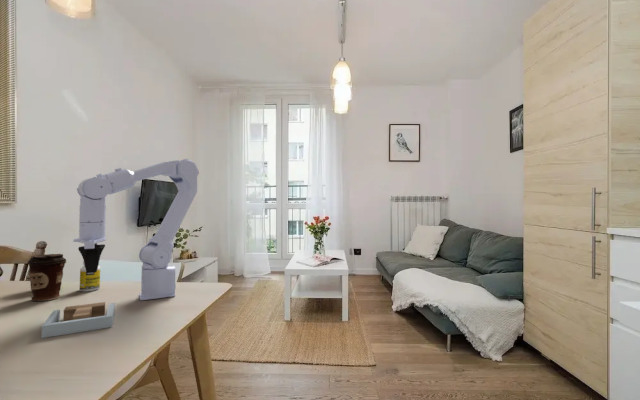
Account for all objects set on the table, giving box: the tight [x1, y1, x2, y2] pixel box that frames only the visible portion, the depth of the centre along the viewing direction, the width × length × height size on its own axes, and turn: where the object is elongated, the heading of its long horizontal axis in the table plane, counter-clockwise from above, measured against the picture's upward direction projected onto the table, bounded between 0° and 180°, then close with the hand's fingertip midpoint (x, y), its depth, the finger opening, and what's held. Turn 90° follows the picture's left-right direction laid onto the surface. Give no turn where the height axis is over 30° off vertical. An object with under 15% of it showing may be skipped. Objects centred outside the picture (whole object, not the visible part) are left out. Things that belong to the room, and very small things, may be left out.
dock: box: [41, 302, 116, 339], centre depth 74 cm, size 11×12×2 cm
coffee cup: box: [26, 253, 67, 302], centre depth 93 cm, size 9×8×13 cm
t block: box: [62, 301, 106, 322], centre depth 75 cm, size 9×8×3 cm
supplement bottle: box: [79, 260, 101, 292], centre depth 103 cm, size 5×5×10 cm
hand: (91, 272), depth 84 cm, fingers closed
